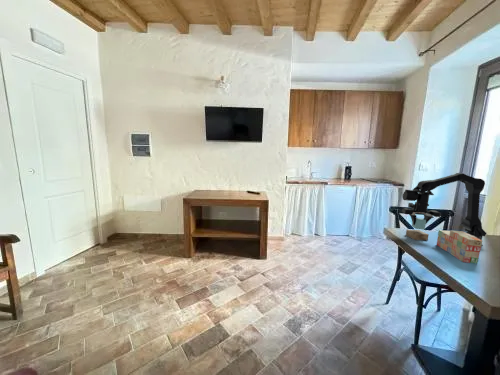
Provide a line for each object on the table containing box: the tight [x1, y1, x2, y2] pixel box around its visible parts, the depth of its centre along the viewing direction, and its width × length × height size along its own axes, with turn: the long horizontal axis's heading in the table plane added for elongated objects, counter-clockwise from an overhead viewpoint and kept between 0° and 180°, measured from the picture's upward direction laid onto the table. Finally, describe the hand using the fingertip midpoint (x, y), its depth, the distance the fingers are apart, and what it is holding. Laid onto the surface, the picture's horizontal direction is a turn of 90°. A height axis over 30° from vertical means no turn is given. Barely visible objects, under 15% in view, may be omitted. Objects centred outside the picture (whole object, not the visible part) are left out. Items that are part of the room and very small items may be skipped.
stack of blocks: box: [436, 229, 483, 264], centre depth 116 cm, size 21×6×12 cm, turn 168°
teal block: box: [411, 217, 427, 231], centre depth 137 cm, size 5×5×6 cm
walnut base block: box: [405, 229, 429, 241], centre depth 138 cm, size 8×8×4 cm
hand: (418, 225), depth 137 cm, fingers closed on teal block, 5 cm apart
